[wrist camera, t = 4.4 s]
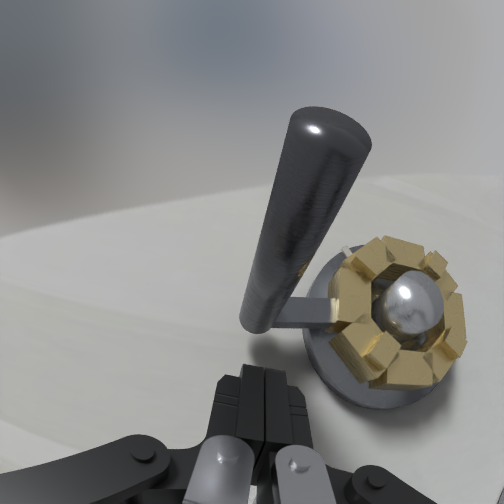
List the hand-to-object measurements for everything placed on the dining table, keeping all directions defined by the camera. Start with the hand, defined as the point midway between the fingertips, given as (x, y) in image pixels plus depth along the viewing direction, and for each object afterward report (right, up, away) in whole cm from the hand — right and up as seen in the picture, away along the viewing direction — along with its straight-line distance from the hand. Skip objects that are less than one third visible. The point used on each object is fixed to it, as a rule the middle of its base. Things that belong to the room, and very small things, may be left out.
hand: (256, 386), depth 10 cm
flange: (+10, -1, +12) cm, 15 cm away
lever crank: (+7, +1, +10) cm, 12 cm away
